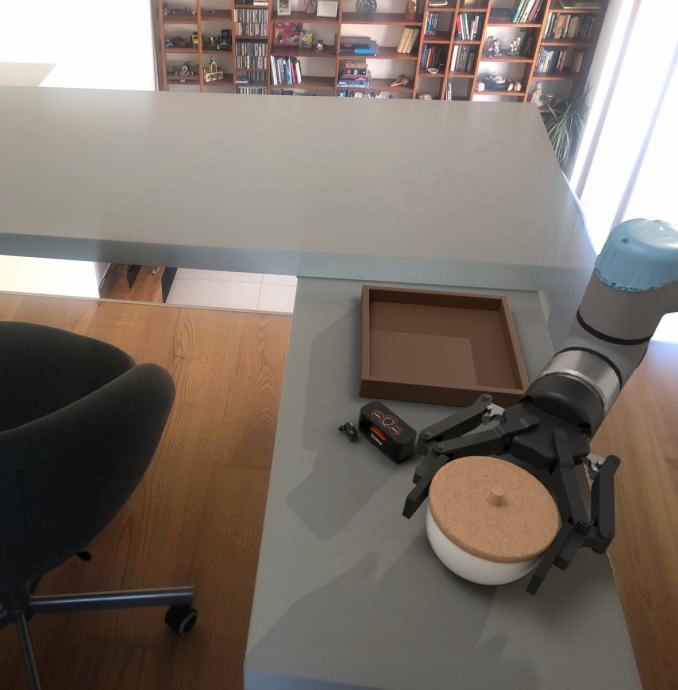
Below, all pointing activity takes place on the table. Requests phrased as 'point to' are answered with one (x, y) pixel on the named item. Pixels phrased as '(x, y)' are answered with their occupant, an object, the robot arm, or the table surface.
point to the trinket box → (489, 519)
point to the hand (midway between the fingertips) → (467, 544)
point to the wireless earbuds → (384, 430)
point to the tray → (439, 347)
